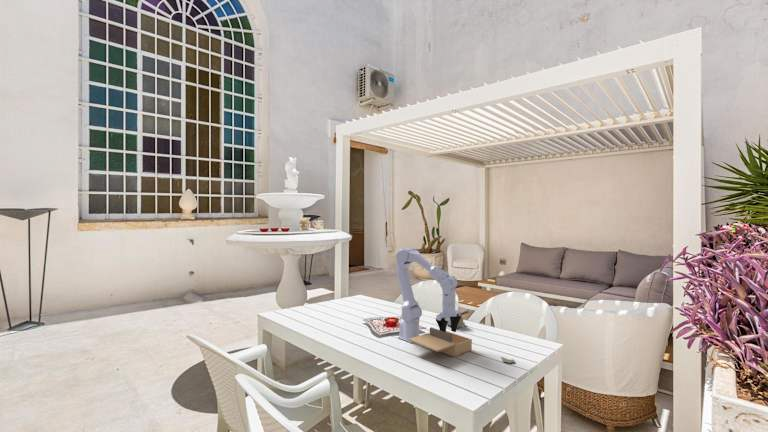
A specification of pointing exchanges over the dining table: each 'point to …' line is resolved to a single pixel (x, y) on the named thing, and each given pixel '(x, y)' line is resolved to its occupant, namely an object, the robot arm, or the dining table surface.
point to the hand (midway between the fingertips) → (448, 333)
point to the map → (507, 360)
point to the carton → (458, 345)
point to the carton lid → (434, 340)
